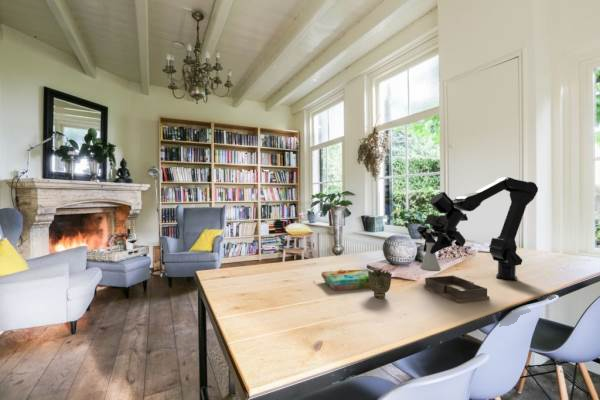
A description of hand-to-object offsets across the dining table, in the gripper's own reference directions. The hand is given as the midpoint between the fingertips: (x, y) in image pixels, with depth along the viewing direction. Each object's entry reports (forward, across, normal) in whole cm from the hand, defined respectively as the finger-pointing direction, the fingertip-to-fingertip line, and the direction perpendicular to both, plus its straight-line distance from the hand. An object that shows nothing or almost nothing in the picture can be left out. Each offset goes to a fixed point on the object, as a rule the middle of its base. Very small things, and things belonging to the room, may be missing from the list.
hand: (427, 252), depth 107 cm
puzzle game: (+28, -8, -11) cm, 31 cm away
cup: (+26, +6, -10) cm, 29 cm away
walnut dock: (+8, +12, +8) cm, 17 cm away
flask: (+4, 0, +6) cm, 7 cm away
